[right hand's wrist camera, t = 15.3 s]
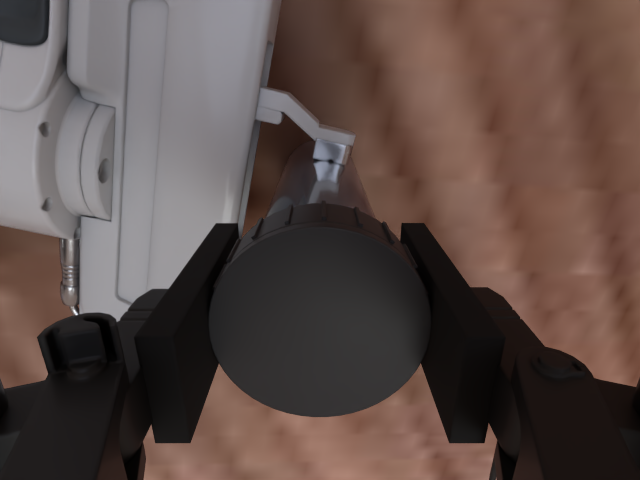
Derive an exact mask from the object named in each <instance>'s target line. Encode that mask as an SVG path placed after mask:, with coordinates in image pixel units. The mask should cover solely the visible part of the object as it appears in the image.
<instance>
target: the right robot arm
mask: <svg viewBox="0 0 640 480" xmlns="http://www.w3.org/2000/svg"><path fill="white" fill-rule="evenodd" d="M238 238H239V230H238V223H216V224H215V225H214V226H213V228H212V229H211V231H210V232H209V233H208V235H207V236H206V238H205V239H204V240H203V242H202V243H201V244H200V246H199V247H198V249H197V250H196V251H195V253H194V254H193V256H192V257H191V258H190V260H189V261H188V263H187V264H186V265H185V267H184V268H183V270H182V271H181V272H180V274H179V275H178V276H177V278H176V279H175V281H174V282H173V283H172V285H171V286H170V288H169V289H151V290H149V291H148V292H146V293H145V294H143V295H141V296H140V297H138V298H137V299H136V300H135V301H134V302H133V304H132V305H131V306H130V307H129V308H128V311H126V312H125V313H124V314H123V316H122V317H121V318H120V321H118V322H117V321H116V319H115V318H114V317H113V316H112V315H110V314H106V313H101V312H95V313H83V314H79V315H74V316H70V317H68V318H65V319H63V320H60V321H58V322H56V323H54V324H52V325H51V326H49V327H47V328H46V329H44V330H43V332H42V333H41V334H40V335H39V336H38V337H37V339H38V342H39V345H40V348H41V352H42V355H43V358H44V361H45V364H46V368H47V371H48V376H47V378H46V380H44V381H40V382H36V383H31V384H26V385H21V386H16V387H12V388H7V389H4V388H3V385H2V382H1V379H0V480H143V479H144V471H145V462H146V456H145V449H144V444H143V440H144V438H145V436H146V434H147V432H148V430H149V427H150V425H151V424H152V429H153V434H154V439H155V443H191V440H192V437H193V434H194V432H195V429H196V426H197V423H198V420H199V417H200V415H201V412H202V409H203V406H204V403H205V401H206V398H207V395H208V392H209V389H210V386H211V384H212V381H213V378H214V375H215V372H216V370H217V367H218V364H219V362H218V360H217V358H216V356H215V354H214V351H213V348H212V345H211V341H210V335H209V326H208V312H209V306H210V301H211V298H212V295H213V292H214V290H212V288H213V286H214V284H215V282H216V280H217V278H218V276H219V274H220V272H221V270H222V268H223V266H224V264H227V263H228V262H226V260H227V259H228V257H229V255H230V253H231V251H232V249H233V247H234V245H235V243H236V241H237V240H238ZM400 242H401V243H402V245H403V244H406V246H407V247H408V249H409V251H410V253H411V255H412V257H413V259H414V261H415V263H416V265H417V268H416V270H417V271H418V273H419V275H420V277H421V279H422V281H423V283H424V285H425V287H426V289H427V291H428V293H429V297H428V298H429V302H430V307H431V313H432V323H431V332H430V340H429V344H428V348H427V351H426V353H425V355H424V358H423V360H422V362H421V365H422V367H423V370H424V373H425V376H426V379H427V382H428V384H429V387H430V390H431V393H432V396H433V398H434V401H435V404H436V407H437V410H438V413H439V415H440V418H441V421H442V424H443V427H444V429H445V432H446V435H447V438H448V441H449V443H485V438H486V433H487V428H488V423H489V424H490V426H491V428H492V430H493V432H494V434H495V436H496V438H497V444H496V449H495V454H494V458H493V463H492V467H491V472H490V477H489V480H496V478H497V480H640V378H639V381H638V384H637V387H633V386H628V385H623V384H618V383H613V382H608V381H603V380H599V379H595V378H594V377H593V375H592V373H591V372H590V371H589V370H588V368H587V367H586V366H585V365H584V364H583V363H582V362H580V361H579V360H577V359H576V358H575V357H573V356H571V355H569V354H567V353H564V352H562V351H560V350H556V349H552V348H548V347H545V346H544V345H543V344H542V343H541V341H540V340H539V339H538V338H537V337H536V335H535V334H534V333H533V332H532V331H531V330H530V328H529V327H528V326H527V325H526V324H525V322H524V321H523V320H522V319H520V316H519V315H518V314H517V313H516V312H515V310H512V307H511V306H510V304H509V303H508V302H507V301H506V300H505V299H504V297H503V296H501V295H499V294H498V293H496V292H494V291H493V290H491V289H489V288H488V287H469V285H468V284H467V282H466V281H465V280H464V278H463V277H462V275H461V274H460V273H459V271H458V270H457V269H456V267H455V266H454V264H453V263H452V262H451V260H450V259H449V257H448V256H447V255H446V253H445V252H444V250H443V249H442V248H441V246H440V245H439V244H438V242H437V241H436V239H435V238H434V237H433V235H432V234H431V232H430V231H429V230H428V228H427V227H426V225H425V224H424V223H402V226H401V239H400Z"/></svg>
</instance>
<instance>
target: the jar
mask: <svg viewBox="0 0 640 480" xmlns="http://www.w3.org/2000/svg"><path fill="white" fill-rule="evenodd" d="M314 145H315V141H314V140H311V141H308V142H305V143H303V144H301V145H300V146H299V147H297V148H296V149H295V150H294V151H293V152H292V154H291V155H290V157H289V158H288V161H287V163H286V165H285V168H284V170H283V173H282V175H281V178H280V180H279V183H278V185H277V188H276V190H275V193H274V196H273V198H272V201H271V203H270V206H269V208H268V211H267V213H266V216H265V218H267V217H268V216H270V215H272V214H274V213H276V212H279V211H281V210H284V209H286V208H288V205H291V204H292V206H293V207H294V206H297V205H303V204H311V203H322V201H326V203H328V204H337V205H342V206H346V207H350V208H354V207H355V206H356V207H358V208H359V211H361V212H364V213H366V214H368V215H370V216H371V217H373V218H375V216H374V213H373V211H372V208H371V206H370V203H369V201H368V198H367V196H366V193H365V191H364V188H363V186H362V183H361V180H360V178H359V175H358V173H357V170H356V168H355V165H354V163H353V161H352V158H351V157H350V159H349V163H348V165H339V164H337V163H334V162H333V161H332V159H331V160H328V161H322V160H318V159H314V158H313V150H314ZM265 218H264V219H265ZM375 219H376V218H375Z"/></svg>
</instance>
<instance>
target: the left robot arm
mask: <svg viewBox="0 0 640 480" xmlns="http://www.w3.org/2000/svg"><path fill="white" fill-rule="evenodd" d="M281 1H282V0H0V225H1V226H6V227H11V228H16V229H20V230H24V231H29V232H34V233H39V234H44V235H49V236H54V237H59V247H60V262H61V268H62V281H61V284H60V295H61V300H62V303H63V304H64V305H66V306H69V307H70V310H71V312H72V314H73V315H79V314H83V313H95V312H101V313H106V314H110V315H112V316H113V317H114V318H115V319H116V321H117V322H118V321H120V318H121V317H122V316H123V314H124V313H125V312H126V311H128V308H129V307H130V306H131V305H132V304H133V302H134V301H135V300H136V299H137V298H138V297H140V296H141V295H143V294H145V293H146V292H148V291H149V290H151V289H169V288H170V286H171V285H172V283H173V282H174V281H175V279H176V278H177V276H178V275H179V274H180V272H181V271H182V270H183V268H184V267H185V265H186V264H187V263H188V261H189V260H190V258H191V257H192V256H193V254H194V253H195V251H196V250H197V249H198V247H199V246H200V244H201V243H202V242H203V240H204V239H205V238H206V236H207V235H208V233H209V232H210V231H211V229H212V228H213V226H214V225H215V224H216V223H238V230H239V239H242V233H243V227H244V221H245V215H246V209H247V203H248V197H249V192H250V186H251V180H252V174H253V168H254V162H255V156H256V150H257V144H258V138H259V132H260V126H261V121H264V122H268V123H273V124H277V125H278V124H280V123H281V122H282V121H283V120H284V118H285V114H286V115H287V116H288V117H289V118H290V119H292V120H293V121H294V122H295V123H296V124H297V125H298V126H299V127H300V128H301V129H302V130H304V131H305V132H306V133H307V134H308V135H309V136H310V137H311V138H312V139H313V140H314V141H315V145H314V150H313V158H314V159H318V160H322V161H328V160H331V159H332V161H333V162H334V163H337V164H339V165H348V163H349V159H350V156H351V152H352V148H353V144H354V140H355V137H356V135H355V133H354V132H351V131H348V130H345V129H341V128H336V127H332V126H328V125H324V124H320V123H319V120H318V119H317V118H316V117H315V116H314V115H313V114H312V113H311V112H310V111H309V110H308V109H307V108H305V107H304V106H303V105H302V104H301V103H300V102H299V101H298V100H297V99H296V98H295V97H294V96H293V95H292V94H291V93H290V92H286V91H282V90H278V89H273V88H269V87H267V84H268V78H269V73H270V67H271V61H272V55H273V49H274V43H275V37H276V31H277V25H278V19H279V13H280V7H281ZM78 304H79V308H78Z"/></svg>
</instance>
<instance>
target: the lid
mask: <svg viewBox="0 0 640 480" xmlns="http://www.w3.org/2000/svg"><path fill="white" fill-rule="evenodd" d="M226 262H228V263H227V264H224V266H223V268H222V270H221V272H220V274H219V276H218V278H217V280H216V282H215V284H214V286H213V288H212V290H214V292H213V295H212V298H211V301H210V306H209V312H208V326H209V335H210V341H211V345H212V348H213V351H214V354H215V356H216V358H217V360H218V362H219V364H220V365H221V367H222V369H223V370H224V372H225V373H226V374H227V375H228V377H229V378H230V379H231V380H232V381H233V382H234V383H235V384H236V385H237V386H238V387H239V388H240V389H241V390H242V391H244V392H245V393H246V394H248V395H249V396H250V397H252V398H253V399H255V400H257V401H259V402H260V403H262V404H264V405H267V406H269V407H271V408H274V409H276V410H279V411H283V412H286V413H290V414H295V415H300V416H309V417H331V416H340V415H345V414H350V413H354V412H357V411H360V410H364V409H366V408H369V407H371V406H373V405H375V404H378V403H379V402H381V401H383V400H384V399H386V398H388V397H389V396H391V395H392V394H393V393H395V392H396V391H397V390H399V389H400V388H401V387H402V386H403V385H404V384H405V383H406V382H407V381H408V380H409V379H410V378H411V376H412V375H413V374H414V373H415V371H416V370H417V368H418V367H419V365H420V363H421V362H422V360H423V358H424V355H425V353H426V351H427V348H428V344H429V340H430V332H431V323H432V313H431V307H430V302H429V298H428V297H429V293H428V291H427V289H426V287H425V285H424V283H423V281H422V279H421V277H420V275H419V273H418V271H417V270H416V268H417V265H416V263H415V261H414V259H413V257H412V255H411V253H410V251H409V249H408V247H407V246H406V244H403V245H402V243H401V242H400V241H399V239H398V238H397V237H396V236H395V235H394V234H393V233H392V232H391V231H390V230H389V228H388V226H387V223H385V222H383V223H381V222H379V221H378V220H377V219H375V218H373V217H371V216H370V215H368V214H366V213H364V212H361V211H359V208H358V207H356V206H355V207H354V208H350V207H346V206H342V205H337V204H328V203H326V201H322V203H311V204H303V205H297V206H294V207H293V206H292V204H291V205H288V208H286V209H284V210H281V211H279V212H276V213H274V214H272V215H270V216H268V217H267V218H265V219H263V218H262V217H261V218H260V219H259V220H258V222H257V224H256V225H255V226H254V227H252V228H251V229H250V230H249V231H248V232H247V233H246V234H245V235H244V236H243V238H242V239H239V238H238V240H237V241H236V243H235V245H234V247H233V249H232V251H231V253H230V255H229V257H228V259H227V260H226Z"/></svg>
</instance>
